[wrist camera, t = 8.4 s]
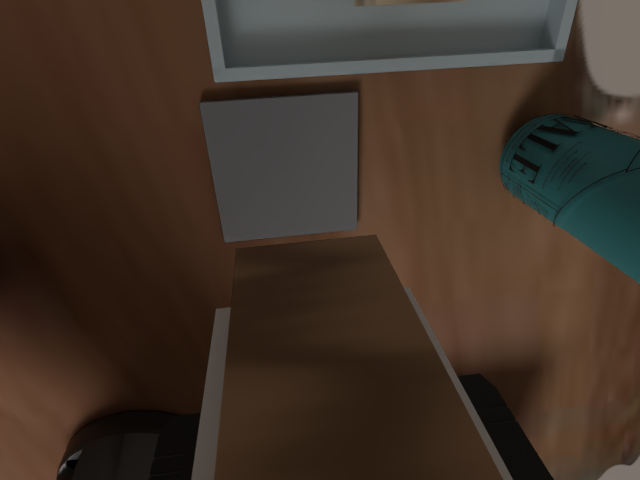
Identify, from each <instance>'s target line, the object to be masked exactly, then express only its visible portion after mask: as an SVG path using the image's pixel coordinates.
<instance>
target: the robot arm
mask: <svg viewBox="0 0 640 480" xmlns="http://www.w3.org/2000/svg"><path fill="white" fill-rule="evenodd" d="M403 288H404V290H405V292H406V294H407V295H408V297H409V299H410V301H411V303H412V305H413V307H414V309H415V311H416V313H417V315H418V317H419V319H420V320H421V322H422V324H423V326H424V328H425V330H426V332H427V334H428V336H429V338H430V340H431V342H432V344H433V345H434V347H435V349H436V351H437V353H438V355H439V357H440V359H441V361H442V363H443V365H444V367H445V369H446V370H447V372H448V374H449V376H450V378H451V380H452V382H453V384H454V386H455V388H456V390H457V392H458V394H459V395H460V397H461V399H462V401H463V403H464V405H465V407H466V409H467V411H468V413H469V415H470V417H471V419H472V420H473V422H474V424H475V426H476V428H477V430H478V432H479V434H480V436H481V438H482V440H483V442H484V444H485V445H486V447H487V449H488V451H489V453H490V455H491V457H492V459H493V461H494V463H495V465H496V467H497V469H498V470H499V472H500V474H501V476H502V478H503V480H554V479H553V477H552V476H551V475H550V473H549V472H548V470H547V468H546V467H545V465H544V464H543V462H542V460H541V459H540V457H539V456H538V454H537V452H536V451H535V449H534V448H533V446H532V445H531V443H530V441H529V440H528V438H527V437H526V435H525V433H524V432H523V430H522V429H521V427H520V425H519V424H518V422H516V421H515V417H514V416H513V414H512V413H511V411H510V409H509V408H507V406H506V403H505V401H504V400H503V398H502V397H501V395H500V393H499V392H498V390H497V389H496V387H495V386H493V385H492V384H491V383H490V382H489V381H488V380H486V379H485V378H484V377H483V376H482V375H481V374H474V375H467V376H459V377H457V375H456V373H455V371H454V369H453V368H452V366H451V364H450V362H449V360H448V358H447V357H446V355H445V353H444V351H443V349H442V347H441V345H440V344H439V342H438V340H437V338H436V336H435V334H434V332H433V331H432V329H431V327H430V325H429V323H428V321H427V319H426V318H425V316H424V314H423V312H422V310H421V308H420V307H419V305H418V303H417V301H416V299H415V297H414V295H413V294H412V292H411V290H410V288H409V287H403ZM230 310H231V307H227V308H218V309H216V312H215V319H214V326H213V333H212V340H211V347H210V354H209V361H208V367H207V374H206V381H205V388H204V395H203V402H202V409H201V413H198V414H191V415H183V416H177V415H173V414H168V413H162V412H151V411H137V412H126V413H120V414H115V415H111V416H107V417H104V418H102V419H99V420H97V421H94V422H92V423H90V424H89V425H87V426H85V427H84V428H82V429H81V430H80V431H79V432H77V433H76V434H75V435H74V437H73V438H72V439H71V441H70V442H69V444H68V446H67V449H66V451H65V453H64V456H63V458H62V460H61V462H60V465H59V468H58V472H57V480H214V475H215V465H216V454H217V444H218V434H219V423H220V413H221V403H222V392H223V382H224V372H225V361H226V351H227V341H228V330H229V320H230Z"/></svg>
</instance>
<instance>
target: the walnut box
mask: <svg viewBox="0 0 640 480" xmlns="http://www.w3.org/2000/svg"><path fill="white" fill-rule="evenodd" d="M214 480H503V478H502V476H501V474H500V472H499V470H498V469H497V467H496V465H495V463H494V461H493V459H492V457H491V455H490V453H489V451H488V449H487V447H486V445H485V444H484V442H483V440H482V438H481V436H480V434H479V432H478V430H477V428H476V426H475V424H474V422H473V420H472V419H471V417H470V415H469V413H468V411H467V409H466V407H465V405H464V403H463V401H462V399H461V397H460V395H459V394H458V392H457V390H456V388H455V386H454V384H453V382H452V380H451V378H450V376H449V374H448V372H447V370H446V369H445V367H444V365H443V363H442V361H441V359H440V357H439V355H438V353H437V351H436V349H435V347H434V345H433V344H432V342H431V340H430V338H429V336H428V334H427V332H426V330H425V328H424V326H423V324H422V322H421V320H420V319H419V317H418V315H417V313H416V311H415V309H414V307H413V305H412V303H411V301H410V299H409V297H408V295H407V294H406V292H405V290H404V288H403V286H402V284H401V282H400V280H399V278H398V276H397V274H396V272H395V270H394V269H393V267H392V265H391V263H390V261H389V259H388V257H387V255H386V253H385V251H384V249H383V247H382V245H381V244H380V242H379V240H378V238H377V236H376V235H368V236H358V237H348V238H338V239H328V240H318V241H308V242H298V243H288V244H278V245H268V246H258V247H248V248H238V249H236V258H235V268H234V279H233V289H232V299H231V310H230V320H229V330H228V341H227V351H226V361H225V372H224V382H223V392H222V403H221V413H220V423H219V434H218V444H217V454H216V465H215V475H214Z"/></svg>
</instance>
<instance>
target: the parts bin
mask: <svg viewBox="0 0 640 480" xmlns="http://www.w3.org/2000/svg"><path fill="white" fill-rule="evenodd" d="M201 2H202V8H203V14H204V20H205V26H206V33H207V39H208V45H209V51H210V57H211V63H212V70H213V76H214V82H215V83H216V82H232V81H249V80H265V79H281V78H297V77H314V76H330V75H346V74H362V73H379V72H395V71H411V70H427V69H444V68H460V67H476V66H492V65H509V64H525V63H541V62H557V61H563V58H564V54H565V50H566V46H567V42H568V38H569V34H570V30H571V26H572V22H573V18H574V14H575V10H576V6H577V2H578V0H466V1H461V2H442V3H422V4H399V5H377V6H355V7H354V0H201Z"/></svg>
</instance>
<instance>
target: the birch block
mask: <svg viewBox="0 0 640 480" xmlns="http://www.w3.org/2000/svg"><path fill="white" fill-rule="evenodd" d="M461 1H466V0H354V7H355V6H377V5H399V4H422V3H442V2H461Z"/></svg>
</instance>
